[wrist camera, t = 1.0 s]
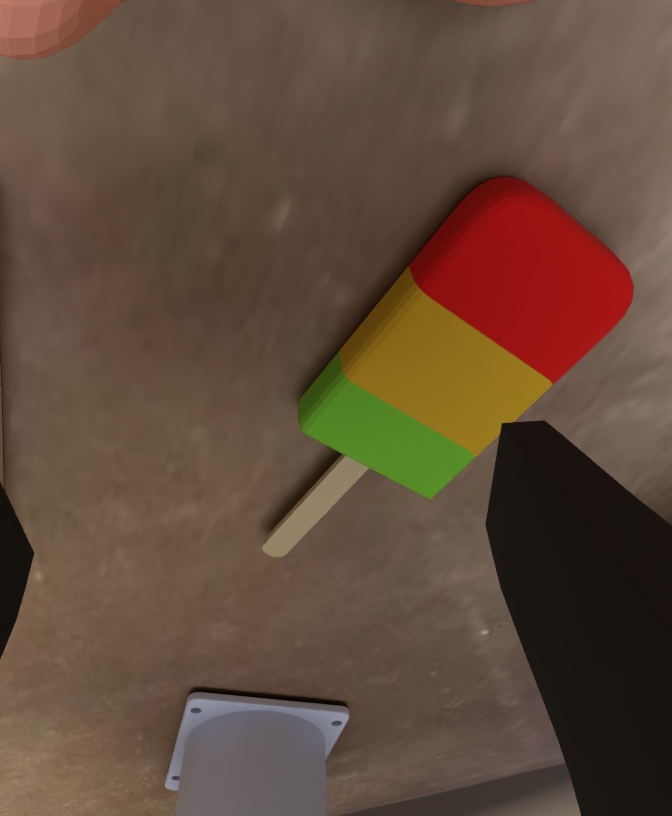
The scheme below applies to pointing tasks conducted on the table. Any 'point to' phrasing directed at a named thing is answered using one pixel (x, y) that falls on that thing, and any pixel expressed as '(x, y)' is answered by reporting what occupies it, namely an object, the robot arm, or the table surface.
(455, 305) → the popsicle
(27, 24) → the pink rounded body
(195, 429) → the table surface
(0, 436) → the beige flat block
